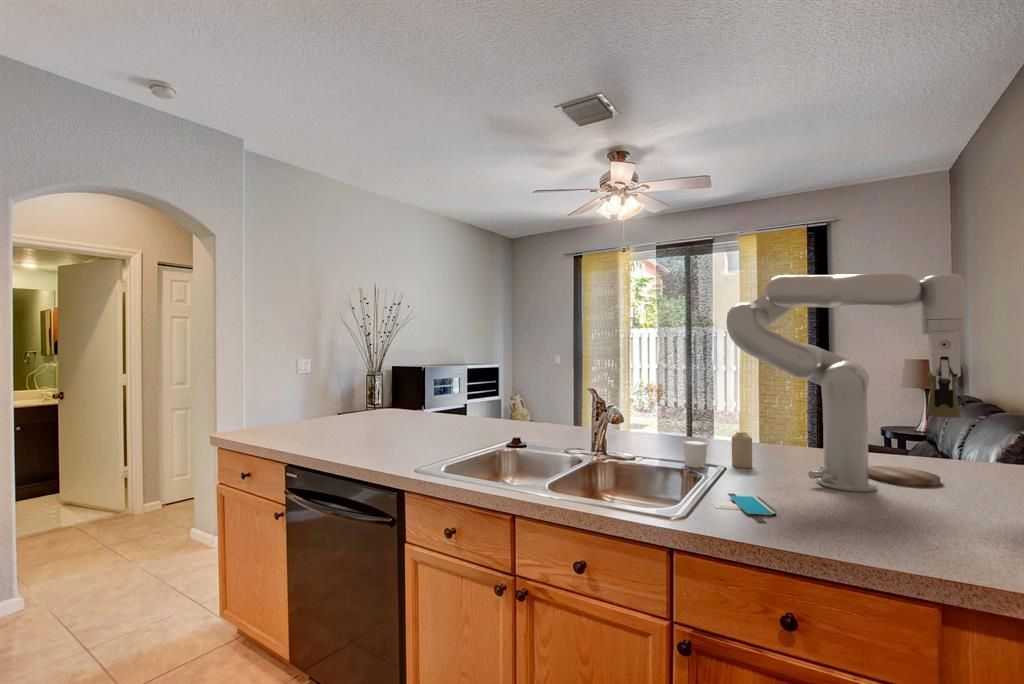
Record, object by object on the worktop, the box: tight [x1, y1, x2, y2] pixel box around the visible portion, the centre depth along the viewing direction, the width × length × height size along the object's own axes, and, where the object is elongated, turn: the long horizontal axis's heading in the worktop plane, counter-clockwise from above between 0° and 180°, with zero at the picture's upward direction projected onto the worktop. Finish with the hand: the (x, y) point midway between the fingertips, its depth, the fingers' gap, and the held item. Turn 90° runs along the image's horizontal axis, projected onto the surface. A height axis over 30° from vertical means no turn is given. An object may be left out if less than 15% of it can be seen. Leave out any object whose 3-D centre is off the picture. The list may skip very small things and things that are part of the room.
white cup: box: [682, 440, 708, 469], centre depth 148 cm, size 7×7×7 cm
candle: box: [731, 431, 753, 469], centre depth 147 cm, size 6×6×10 cm
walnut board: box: [868, 465, 941, 488], centre depth 132 cm, size 16×16×2 cm
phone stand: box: [711, 493, 779, 523], centre depth 109 cm, size 20×12×2 cm, turn 173°
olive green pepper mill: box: [925, 369, 961, 419], centre depth 114 cm, size 6×6×11 cm
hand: (942, 405), depth 114 cm, fingers closed on olive green pepper mill, 3 cm apart
